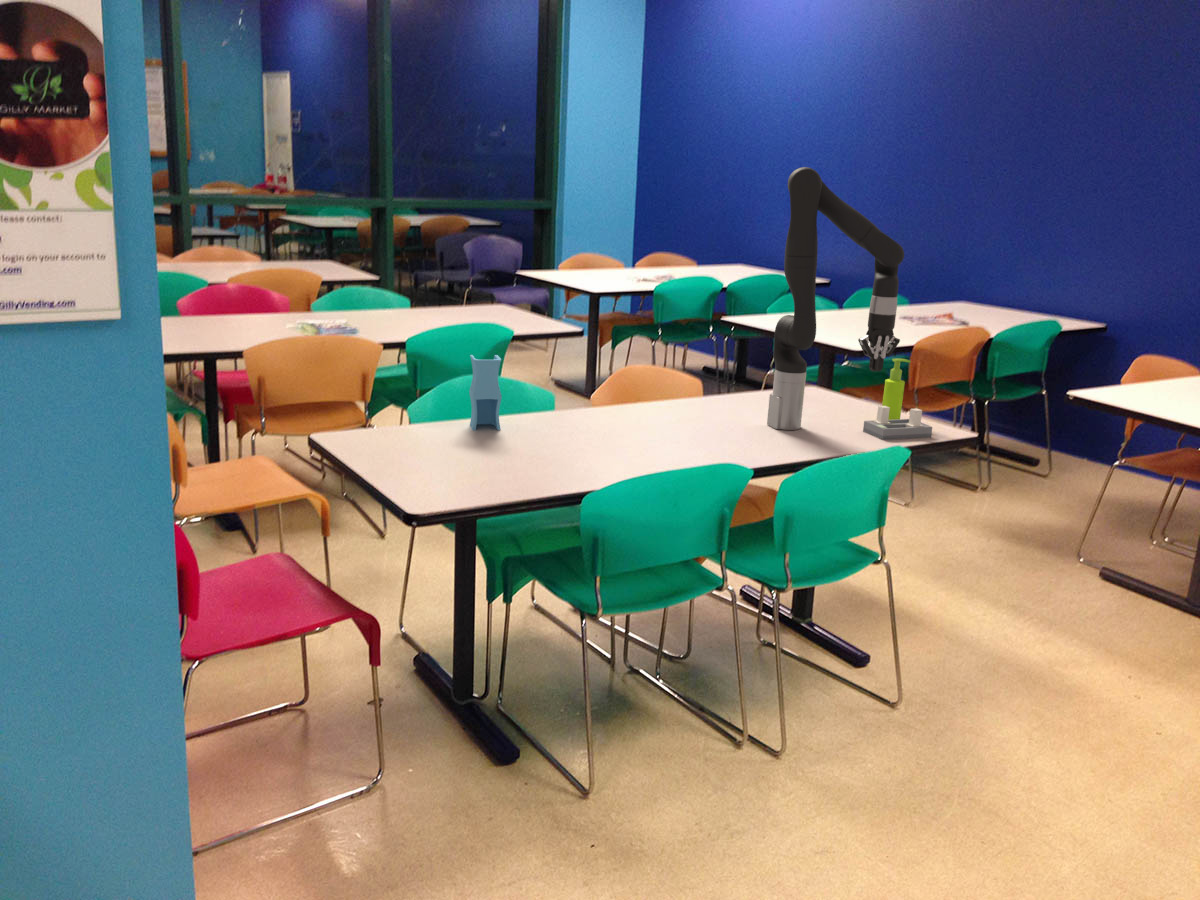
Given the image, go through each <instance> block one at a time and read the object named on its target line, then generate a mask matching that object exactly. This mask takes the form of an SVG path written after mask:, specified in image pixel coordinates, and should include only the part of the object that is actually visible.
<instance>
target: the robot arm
mask: <svg viewBox="0 0 1200 900" xmlns="http://www.w3.org/2000/svg"><path fill="white" fill-rule="evenodd" d="M787 189H788V192H789V193H788V194H789V201H790V202H789V203H790V204H789V205H790V218H789V219H790V220H789V227H788V230H787V236H786V242H785V249H784V263H783V264H784V265H783V267H784V269H783V270H784V276H785V279H786V283H787V285H788V287H789V290H790V292H791V296H792V300H793V306H794V308H793V312H794V313H793V315H791V314H786V315H784V316H781V318H780V319H779V320H778V321H777V322H776V326H775V328H774V337H773V354H772V355H773V362H774V366H775V367H774V376H773V384H772V385H773V386H772V393H770V394H769V399H768V410H767V421H766V426H767V425H768V426H770V427H771V428H773V429H775V430H783V431H795V430H799V429H801V427H802V416H803V408H804V407H803V406H804V396H805V389H806V388H805V387H806V381H807V379H806V378H807V369H808V364H807V361H806V360H805V359H804V358H803V357H802V355H801V354H800V351H806V350H808V349H810V348H811V347H812V346H813V344H814V342H815V341H816V335H817V315H816V314H817V312H816V311H817V310H816V285H817V284H816V283H817V282H816V281H817V278H816V277H817V268H818V253H819V252H818V250H819V249H818V247H819V245H818V243H819V241H818V226H817V225H818V223H817V221H818V219H817V218H818V211H819V212H820V213H821V214H823V215H824V216H825V218H827V219H828V220H829V221H830V222H832V223H833V224H834V225H835V227H837V228H838V229H839V230H840V231H841V232H842V233H843V234H844V235H846V236H847V237H848V238H849V239H850V240H851V241H853V242H854V243H855V244H856V245H858V246H860V247H861V248H863V249H864V250H866V251H867V252H868V253H869V254H870V255H871V256H873V257H874V278H873V279H874V280H873V287H872V292H871V293H872V295H871V299H870V304H869V312H868V318H867V319H868V321H867V328H868V330H867V331H866V334H865V336H863V337H859V338H857V339H858V344H859V345H860V347H861V350H862V351H863V354H864V356H866V357H869V364H868V367H869V370H870V371H871V372H882V370H883V369H884V368H883V367H884V361H885V359H886V358H887V357H891V355H892V354H893V353H894V352H895V350H896V348H897V347H898V345H899V343H900V342H901V339H900V338H897V337H896V336H894V335H895V334H894V329H895V325H896V324H895V323H896V317H897V309H898V295H899V293H898V292H899V285H900V279H899V276H898V273H899V266H900V265H901V264H902V263H903V262H904V258H905V250H904V248H903V246H902V245H901V244H900V243H899V242H897V241H896V240H894V239H893V238H892V237H890V236H889V235H888V234H886V233H885V232H883V231H881V229H879V228H878V226H877V225H876V224H875V223H873V221H871V220H870V219H868V218H867V217H866V216H865V215H863V214H862V213H860V211H858V210H857V209H855V208H854V207H852V206H851V205H849V204H848V203H846V202H845V201H844V200H842V199H841V198H840V197H839V196H838V195H836V194H835V192H833V191H832V190H831V189H830V188H829V187H828V186H827V184H826V183H825V182H824V181H823V179H822V178H821V176H820V174H819V173H818V171H816V170H815V169H813V168H811V167H808V166H802V167H798V168H797V169H795V170H793V171H792V173H790V175H789V177H788V180H787ZM799 350H800V351H799Z"/></svg>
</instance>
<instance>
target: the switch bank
mask: <svg viewBox="0 0 1200 900" xmlns="http://www.w3.org/2000/svg"><path fill="white" fill-rule="evenodd" d="M876 420H877V419H874V420H864V421H863V428H862V432H863V433H866V434H869V435H870V436H873V437H874V438H877V439H880V440H882V441H883V440H885V441H886V440H887V441H888V440H889V441H890V440H903V439H904V440H905V439H926V438H932V433H933V432H932V431H933V426H931V425H929V424H925V423H924V422H921V424H920V425H923V427H905V425H906V424H909V418H900V419H895V420H888V422H890V423H891V424H877V423H875V422H873V421H876Z"/></svg>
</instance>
